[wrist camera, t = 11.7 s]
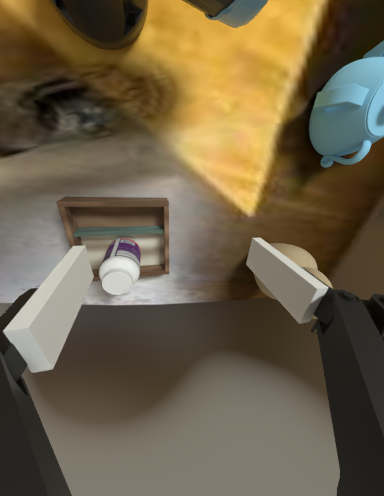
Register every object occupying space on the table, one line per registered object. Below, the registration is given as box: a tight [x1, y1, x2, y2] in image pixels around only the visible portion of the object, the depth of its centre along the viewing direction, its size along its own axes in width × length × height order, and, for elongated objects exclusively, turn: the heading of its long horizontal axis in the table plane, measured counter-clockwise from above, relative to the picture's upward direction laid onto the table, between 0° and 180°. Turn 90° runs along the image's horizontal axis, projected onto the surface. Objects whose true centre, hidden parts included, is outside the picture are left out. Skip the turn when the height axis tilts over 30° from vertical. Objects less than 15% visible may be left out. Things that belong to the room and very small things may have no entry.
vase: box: [254, 243, 333, 319], centre depth 46 cm, size 17×17×30 cm
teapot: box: [309, 41, 384, 168], centre depth 36 cm, size 19×19×14 cm
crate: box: [57, 197, 169, 281], centre depth 42 cm, size 20×22×4 cm
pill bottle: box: [99, 237, 141, 295], centre depth 39 cm, size 8×8×14 cm
